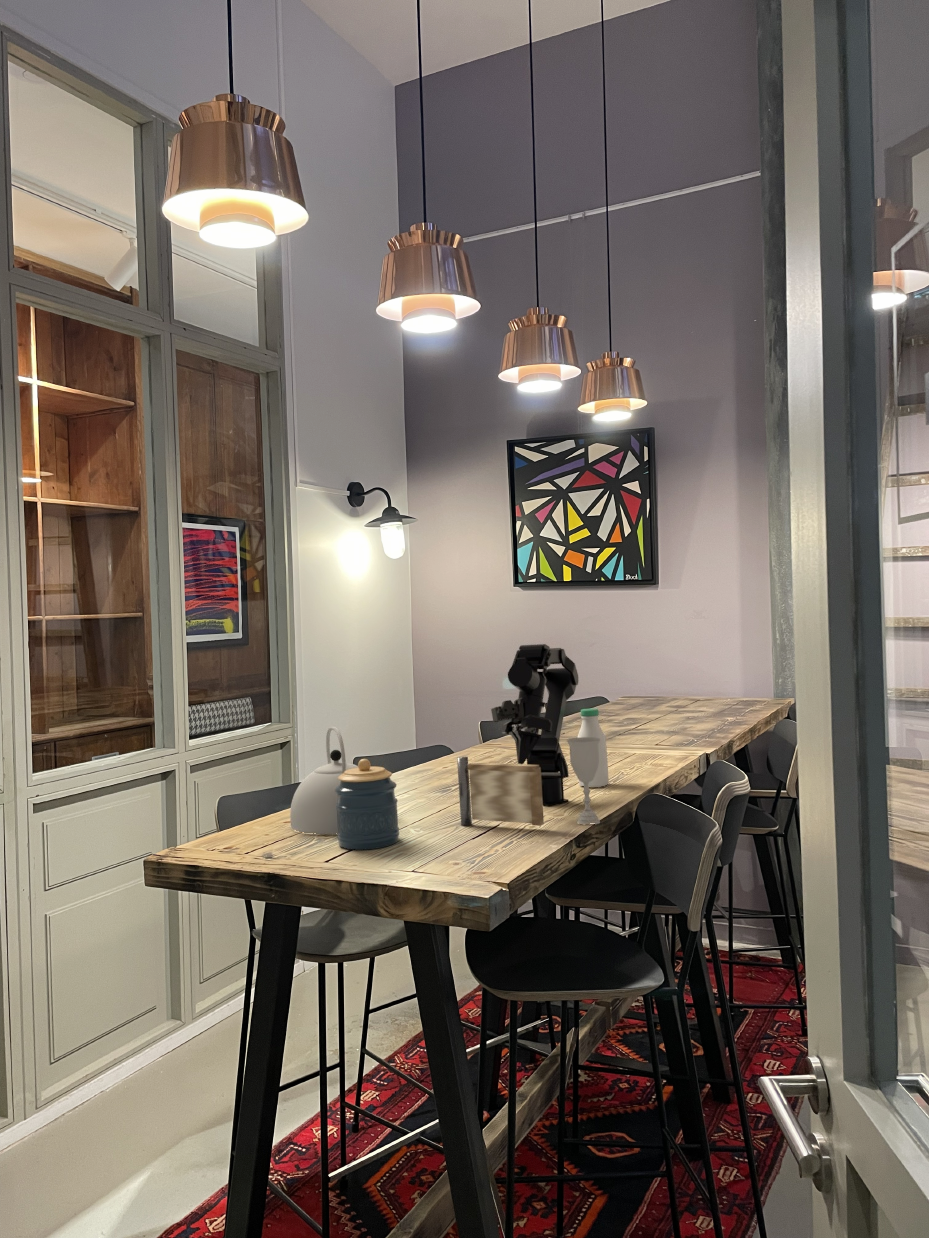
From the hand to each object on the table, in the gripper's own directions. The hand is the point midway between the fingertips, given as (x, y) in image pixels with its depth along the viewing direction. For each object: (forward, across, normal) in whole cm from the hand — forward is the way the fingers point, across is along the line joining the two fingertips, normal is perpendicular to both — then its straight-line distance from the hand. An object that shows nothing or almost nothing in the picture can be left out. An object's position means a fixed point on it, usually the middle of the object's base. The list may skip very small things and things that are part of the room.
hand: (520, 763), depth 207 cm
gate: (+14, +6, -3) cm, 15 cm away
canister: (+23, +4, -31) cm, 39 cm away
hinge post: (+16, -1, -10) cm, 18 cm away
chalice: (+11, +10, +14) cm, 20 cm away
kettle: (+20, -20, -35) cm, 45 cm away
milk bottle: (-1, -26, +29) cm, 39 cm away
